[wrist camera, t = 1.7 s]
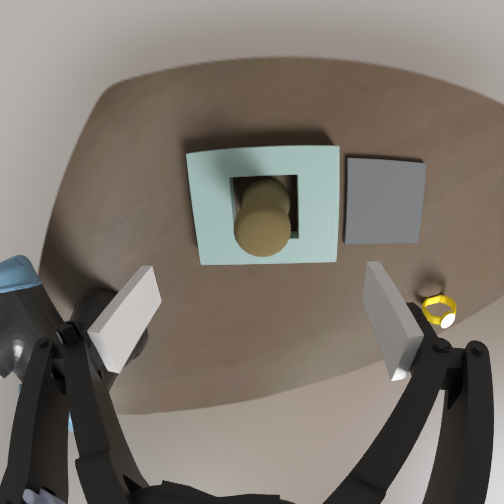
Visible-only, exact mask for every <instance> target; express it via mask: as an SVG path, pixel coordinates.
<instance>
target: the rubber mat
mask: <svg viewBox="0 0 504 504" xmlns="http://www.w3.org/2000/svg"><path fill="white" fill-rule="evenodd" d="M425 172H426V164H425V163H419V162H409V161H398V160H384V159H367V158H347V190H346V219H345V237H344V243H345V244H381V243H418V238H419V231H420V224H421V217H422V208H423V198H424V187H425Z"/></svg>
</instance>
